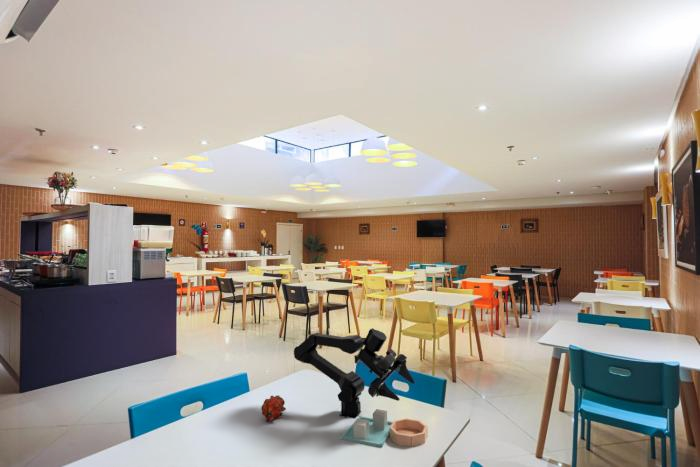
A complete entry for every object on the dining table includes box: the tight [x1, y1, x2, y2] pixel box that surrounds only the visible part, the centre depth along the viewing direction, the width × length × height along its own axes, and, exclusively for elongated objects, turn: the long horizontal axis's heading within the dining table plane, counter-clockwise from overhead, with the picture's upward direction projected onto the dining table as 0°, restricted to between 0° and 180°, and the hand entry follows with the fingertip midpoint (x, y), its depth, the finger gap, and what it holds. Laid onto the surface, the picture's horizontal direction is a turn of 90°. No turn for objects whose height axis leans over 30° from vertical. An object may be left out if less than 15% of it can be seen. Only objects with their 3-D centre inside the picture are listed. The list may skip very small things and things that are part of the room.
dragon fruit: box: [260, 395, 287, 423], centre depth 139 cm, size 8×8×12 cm
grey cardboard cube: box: [352, 418, 369, 440], centre depth 123 cm, size 4×4×5 cm
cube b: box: [372, 408, 388, 430], centre depth 130 cm, size 4×4×5 cm
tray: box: [341, 415, 393, 448], centre depth 126 cm, size 14×16×1 cm
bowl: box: [389, 417, 429, 448], centre depth 122 cm, size 12×12×4 cm
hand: (406, 391), depth 129 cm, fingers open, 9 cm apart
